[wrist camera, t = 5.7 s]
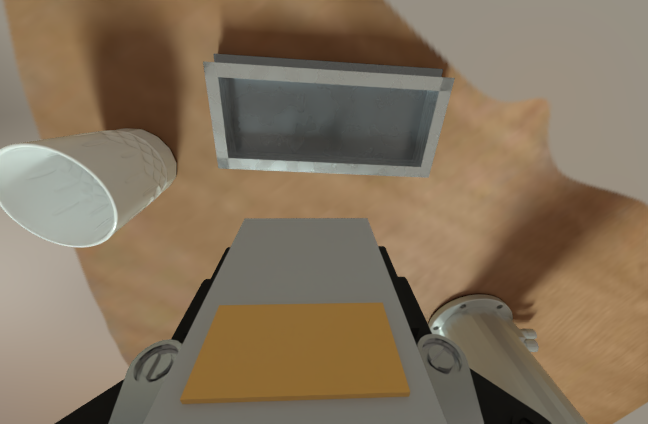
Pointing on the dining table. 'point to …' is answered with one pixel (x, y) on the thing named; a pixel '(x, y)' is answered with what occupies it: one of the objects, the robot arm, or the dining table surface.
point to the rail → (325, 115)
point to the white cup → (83, 183)
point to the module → (299, 335)
